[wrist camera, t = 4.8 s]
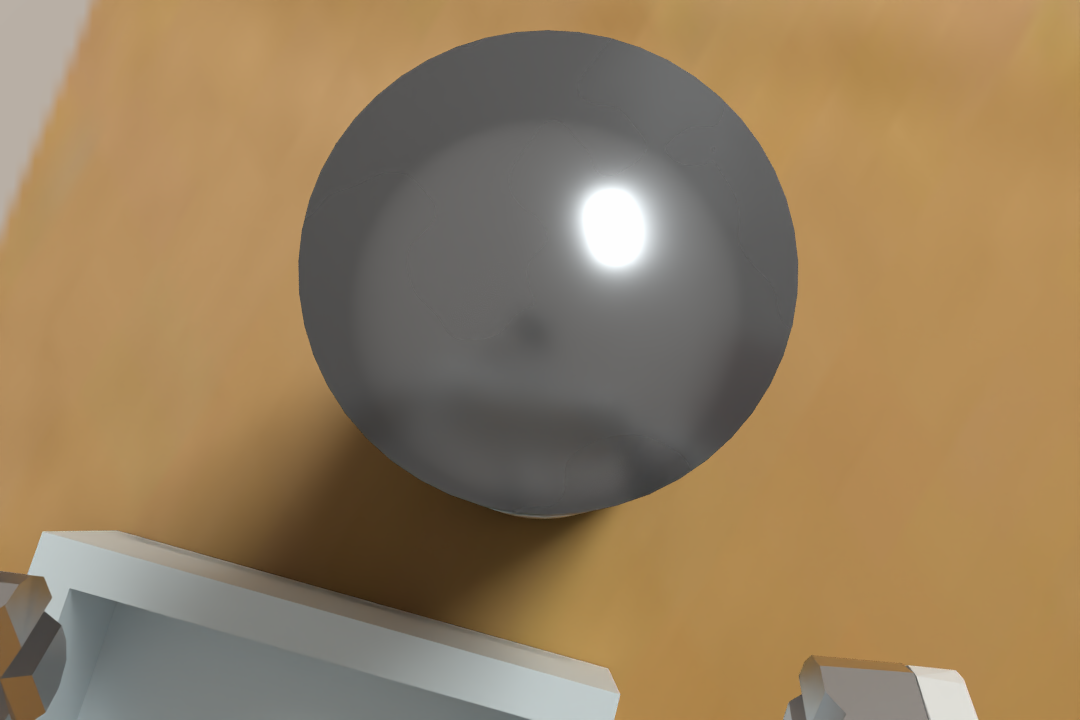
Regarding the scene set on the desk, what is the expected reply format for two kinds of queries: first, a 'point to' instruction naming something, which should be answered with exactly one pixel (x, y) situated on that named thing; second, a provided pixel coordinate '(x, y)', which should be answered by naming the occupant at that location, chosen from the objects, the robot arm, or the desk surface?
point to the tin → (548, 272)
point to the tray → (276, 647)
